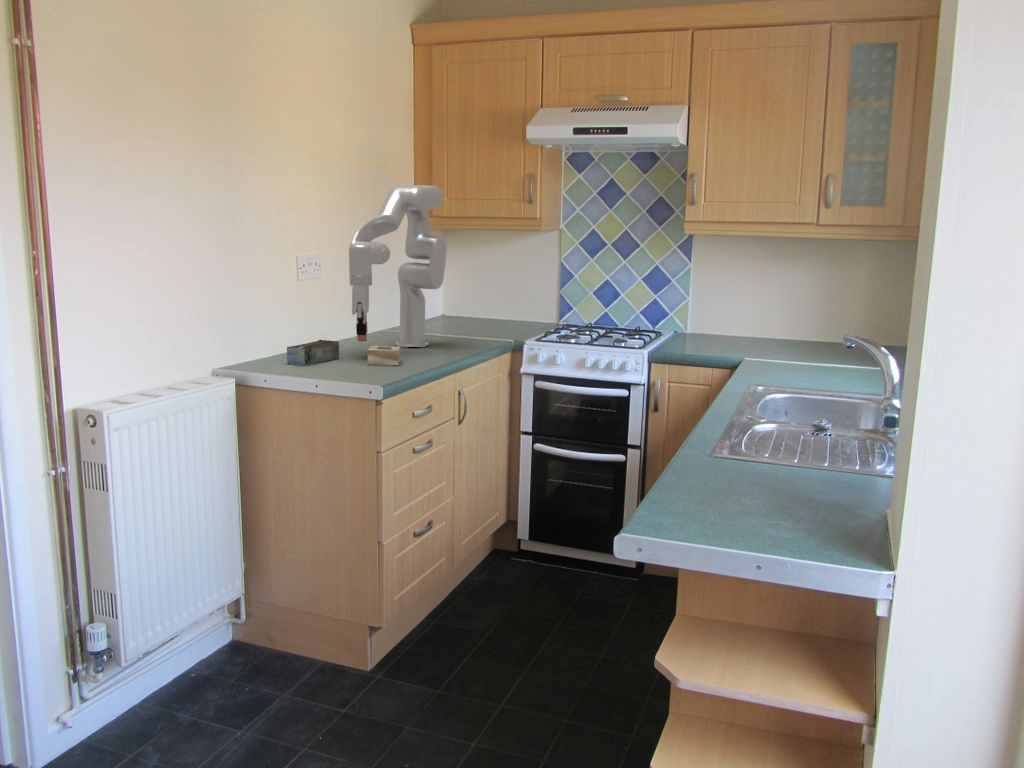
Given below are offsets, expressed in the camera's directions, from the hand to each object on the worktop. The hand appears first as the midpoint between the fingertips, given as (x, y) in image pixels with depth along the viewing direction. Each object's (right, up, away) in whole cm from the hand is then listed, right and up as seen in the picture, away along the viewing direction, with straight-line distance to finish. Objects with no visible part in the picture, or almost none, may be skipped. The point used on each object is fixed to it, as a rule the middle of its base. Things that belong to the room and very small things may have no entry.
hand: (362, 333), depth 297 cm
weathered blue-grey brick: (-15, -10, -8) cm, 20 cm away
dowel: (0, -2, +1) cm, 3 cm away
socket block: (+9, -10, -7) cm, 15 cm away
